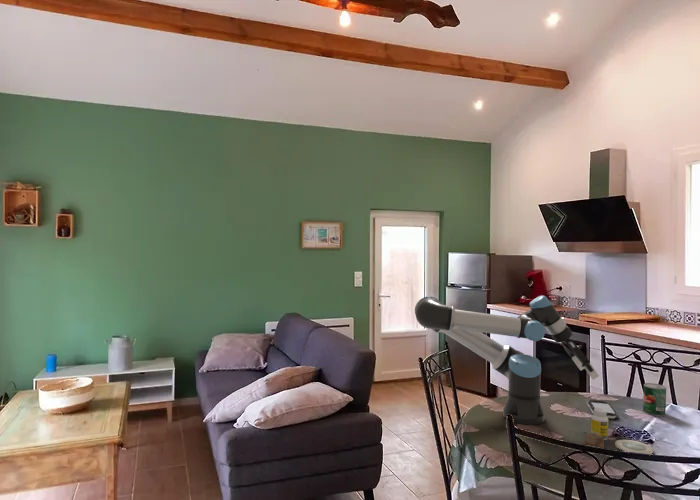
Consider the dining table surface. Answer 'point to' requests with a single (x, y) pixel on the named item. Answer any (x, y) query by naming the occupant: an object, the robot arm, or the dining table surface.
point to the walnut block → (594, 440)
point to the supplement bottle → (600, 423)
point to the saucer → (633, 446)
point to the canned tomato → (654, 399)
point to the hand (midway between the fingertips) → (589, 373)
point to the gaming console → (603, 405)
